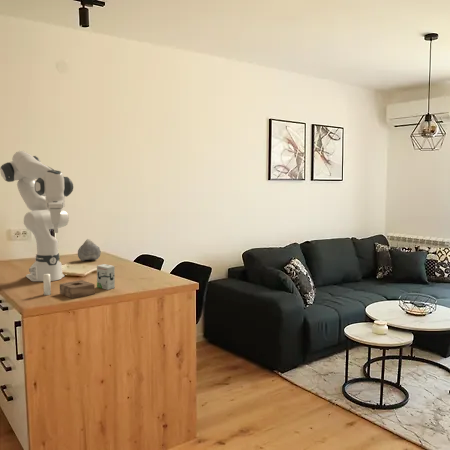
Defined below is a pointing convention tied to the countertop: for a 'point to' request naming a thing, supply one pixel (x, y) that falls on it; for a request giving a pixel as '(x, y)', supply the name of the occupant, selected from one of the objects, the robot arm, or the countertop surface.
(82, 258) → the decorative stone
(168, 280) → the countertop surface
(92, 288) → the bore block
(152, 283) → the countertop surface
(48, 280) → the pin
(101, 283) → the ink box
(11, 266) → the countertop surface
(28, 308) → the countertop surface
